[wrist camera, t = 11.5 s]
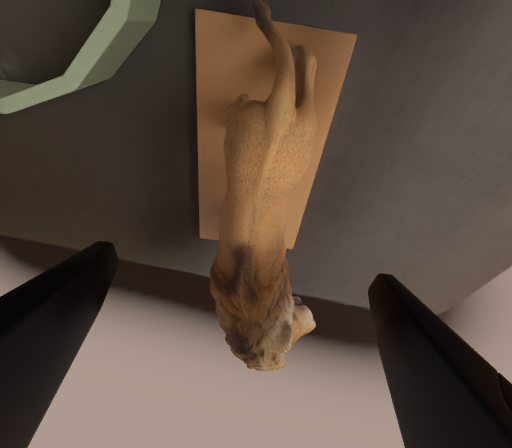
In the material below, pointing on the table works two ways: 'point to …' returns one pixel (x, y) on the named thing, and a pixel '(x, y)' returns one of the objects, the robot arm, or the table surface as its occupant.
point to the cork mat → (256, 98)
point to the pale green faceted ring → (89, 56)
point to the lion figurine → (264, 207)
